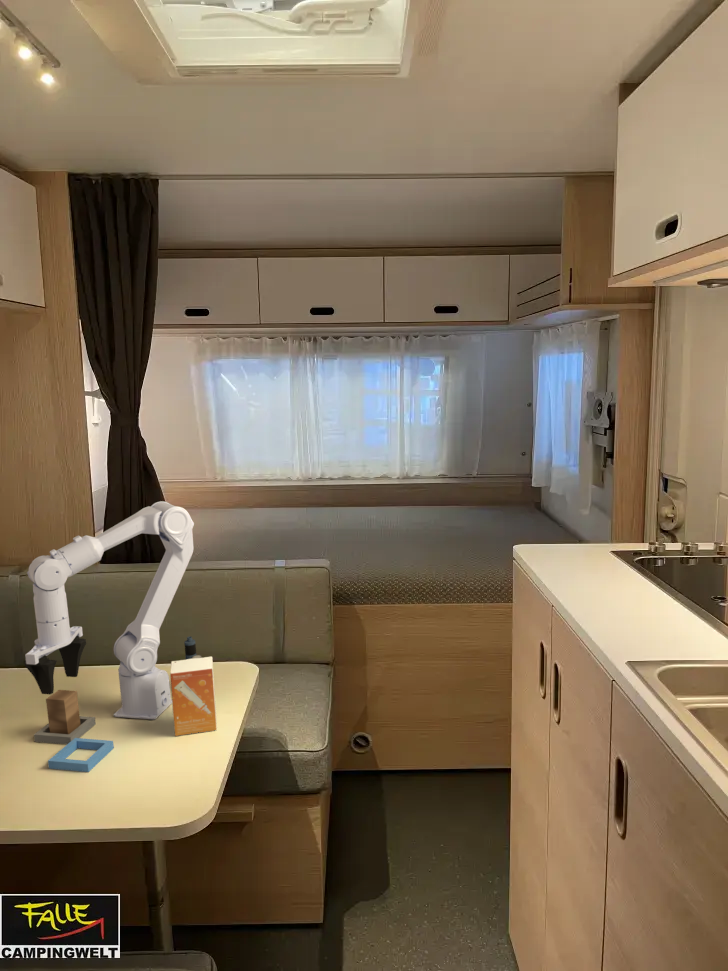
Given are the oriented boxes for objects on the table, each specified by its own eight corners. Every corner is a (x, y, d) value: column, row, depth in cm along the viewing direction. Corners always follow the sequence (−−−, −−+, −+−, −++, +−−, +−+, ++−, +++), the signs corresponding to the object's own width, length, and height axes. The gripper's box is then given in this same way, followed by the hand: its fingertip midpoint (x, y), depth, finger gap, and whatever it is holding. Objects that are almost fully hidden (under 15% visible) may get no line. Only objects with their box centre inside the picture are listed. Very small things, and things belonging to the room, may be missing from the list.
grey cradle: (95, 724, 140) (95, 717, 140) (71, 744, 133) (70, 737, 132) (60, 721, 142) (59, 714, 142) (34, 741, 134) (33, 734, 134)
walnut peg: (81, 728, 139) (76, 690, 138) (68, 738, 135) (64, 700, 134) (63, 727, 140) (58, 689, 138) (50, 737, 136) (45, 699, 135)
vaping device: (195, 685, 157) (191, 634, 155) (208, 691, 153) (204, 640, 151) (185, 688, 155) (181, 637, 153) (198, 696, 151) (193, 643, 149)
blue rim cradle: (113, 748, 131) (113, 740, 131) (88, 772, 123) (87, 764, 123) (76, 745, 132) (75, 737, 132) (48, 768, 125) (47, 760, 125)
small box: (174, 737, 134) (169, 673, 132) (175, 721, 140) (170, 660, 138) (217, 731, 136) (212, 667, 134) (217, 715, 142) (212, 655, 140)
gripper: (58, 605, 142) (65, 668, 144) (7, 630, 128) (16, 700, 130) (88, 606, 140) (95, 669, 142) (41, 632, 126) (49, 702, 128)
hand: (60, 684), depth 136 cm, fingers open, 7 cm apart
